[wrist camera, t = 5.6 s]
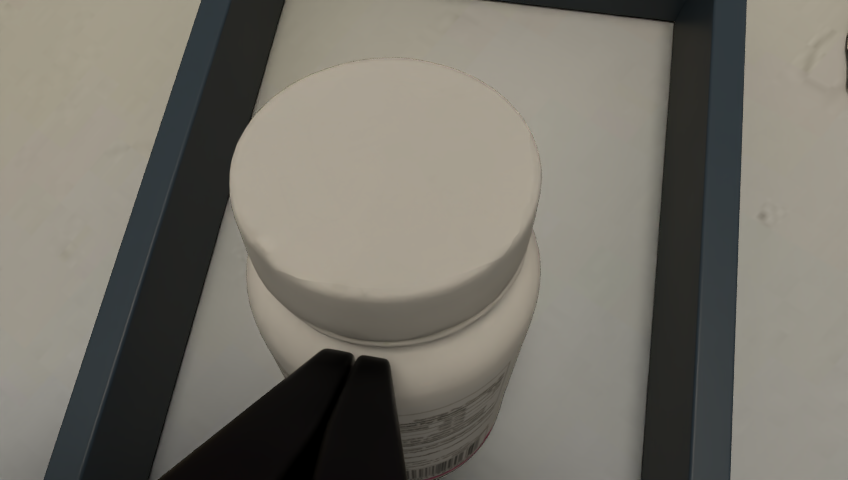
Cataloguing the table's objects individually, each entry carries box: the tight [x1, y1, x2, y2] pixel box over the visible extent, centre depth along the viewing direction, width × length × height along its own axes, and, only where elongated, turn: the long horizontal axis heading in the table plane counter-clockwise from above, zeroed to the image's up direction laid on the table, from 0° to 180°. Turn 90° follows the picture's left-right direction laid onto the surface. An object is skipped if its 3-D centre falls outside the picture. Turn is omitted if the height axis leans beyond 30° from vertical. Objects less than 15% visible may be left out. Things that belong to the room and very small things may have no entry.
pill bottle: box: [229, 58, 542, 480], centre depth 11 cm, size 5×5×8 cm
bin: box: [44, 0, 747, 480], centre depth 15 cm, size 18×14×3 cm
